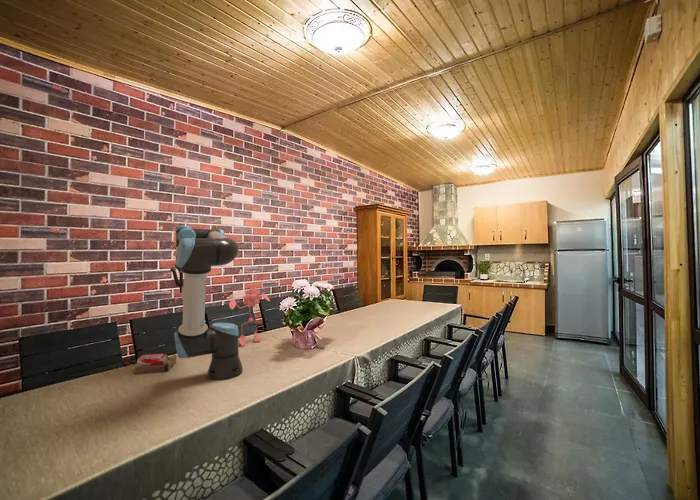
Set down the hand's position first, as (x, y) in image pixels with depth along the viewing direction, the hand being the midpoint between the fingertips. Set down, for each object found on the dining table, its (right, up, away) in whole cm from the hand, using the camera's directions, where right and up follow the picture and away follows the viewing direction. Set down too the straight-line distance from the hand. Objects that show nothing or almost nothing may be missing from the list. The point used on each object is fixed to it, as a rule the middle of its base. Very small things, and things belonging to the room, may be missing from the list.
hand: (184, 298), depth 172 cm
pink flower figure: (+30, -32, +23) cm, 49 cm away
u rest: (-6, -32, -15) cm, 35 cm away
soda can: (-14, -28, -16) cm, 35 cm away
